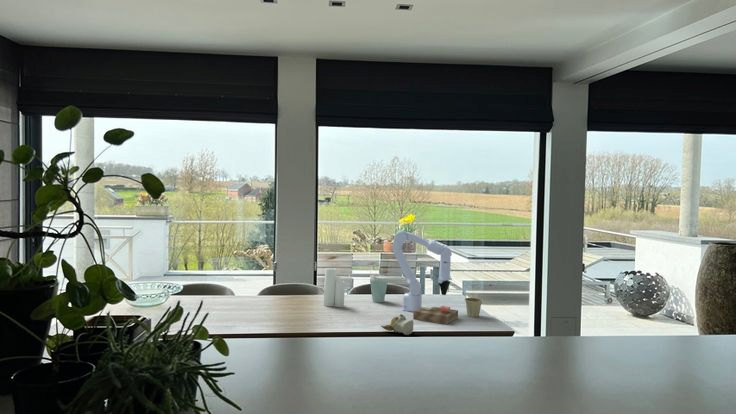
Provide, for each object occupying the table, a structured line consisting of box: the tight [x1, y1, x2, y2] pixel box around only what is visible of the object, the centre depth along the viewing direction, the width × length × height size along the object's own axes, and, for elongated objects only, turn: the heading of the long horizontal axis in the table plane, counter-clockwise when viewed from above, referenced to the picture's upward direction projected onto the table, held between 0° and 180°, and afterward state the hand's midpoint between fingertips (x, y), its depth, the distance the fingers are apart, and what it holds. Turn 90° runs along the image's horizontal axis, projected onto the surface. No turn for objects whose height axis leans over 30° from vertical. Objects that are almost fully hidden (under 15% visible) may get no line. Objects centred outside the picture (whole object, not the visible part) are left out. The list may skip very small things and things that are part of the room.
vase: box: [323, 267, 346, 308], centre depth 302 cm, size 11×7×20 cm, turn 86°
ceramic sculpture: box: [380, 314, 414, 336], centre depth 252 cm, size 11×9×15 cm
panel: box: [412, 306, 459, 325], centre depth 281 cm, size 18×16×4 cm
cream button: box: [421, 305, 435, 310], centre depth 283 cm, size 4×4×5 cm
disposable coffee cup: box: [369, 274, 389, 304], centre depth 317 cm, size 11×11×15 cm
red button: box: [438, 305, 451, 313], centre depth 279 cm, size 4×4×5 cm
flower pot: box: [464, 297, 484, 318], centre depth 291 cm, size 9×9×9 cm
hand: (443, 294), depth 296 cm, fingers closed
